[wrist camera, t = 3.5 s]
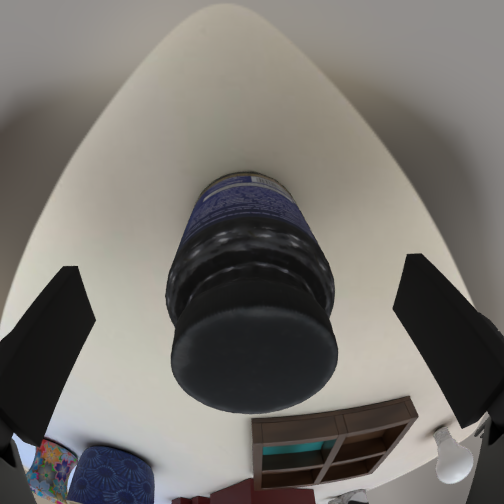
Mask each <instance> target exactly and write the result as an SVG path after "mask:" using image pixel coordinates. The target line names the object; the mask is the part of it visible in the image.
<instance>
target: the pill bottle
mask: <svg viewBox="0 0 504 504" xmlns="http://www.w3.org/2000/svg"><path fill="white" fill-rule="evenodd" d="M165 297H166V306H167V310H168V313H169V316H170V318H171V321H172V323H173V324H174V326H175V334H174V340H173V345H172V352H171V367H172V372H173V375H174V377H175V379H176V381H177V382H178V384H179V385H180V386H181V388H182V389H183V390H184V391H185V392H186V393H187V394H188V395H189V396H191V397H193V398H194V399H196V400H197V401H199V402H201V403H203V404H204V405H207V406H209V407H212V408H215V409H218V410H221V411H226V412H231V413H242V414H262V413H269V412H275V411H280V410H283V409H286V408H289V407H292V406H294V405H297V404H299V403H301V402H303V401H305V400H307V399H308V398H310V397H311V396H313V395H314V394H316V393H317V392H318V391H319V390H321V389H322V388H323V387H324V386H325V384H326V383H327V382H328V381H329V380H330V378H331V376H332V375H333V373H334V371H335V368H336V366H337V361H338V346H337V342H336V338H335V335H334V333H333V330H332V326H331V323H330V320H329V318H330V315H331V312H332V309H333V305H334V297H335V285H334V278H333V275H332V272H331V269H330V266H329V263H328V261H327V259H326V258H325V256H324V253H323V252H322V250H321V248H320V247H319V245H318V243H317V240H316V239H315V237H314V235H313V234H312V232H311V230H310V228H309V226H308V224H307V223H306V221H305V219H304V217H303V215H302V213H301V211H300V210H299V208H298V206H297V205H296V203H295V201H294V199H293V198H292V196H291V194H290V193H289V192H288V191H287V190H286V189H285V187H284V186H282V185H281V184H279V183H278V181H276V180H274V179H272V178H270V177H267V176H265V175H262V174H259V173H256V172H237V173H233V174H228V175H225V176H223V177H220V178H219V179H217V180H215V181H214V182H212V183H211V184H210V185H209V186H207V187H206V188H205V189H204V190H203V192H202V193H201V194H200V196H199V198H198V200H197V202H196V204H195V206H194V209H193V211H192V214H191V216H190V219H189V221H188V224H187V226H186V229H185V231H184V234H183V237H182V239H181V242H180V245H179V247H178V250H177V253H176V255H175V258H174V261H173V263H172V266H171V269H170V271H169V275H168V280H167V288H166V294H165Z"/></svg>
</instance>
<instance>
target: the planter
mask: <svg viewBox="0 0 504 504" xmlns="http://www.w3.org/2000/svg"><path fill="white" fill-rule="evenodd" d="M154 490H155V484H154V474H153V471H152V469H151V468H150V467H149V466H148V464H146V463H145V462H144V461H143V460H141V459H139V458H138V457H136V456H134V455H131V454H129V453H127V452H124V451H121V450H118V449H114V448H110V447H104V446H94V447H90V448H88V449H86V450H85V451H84V452H83V453H82V455H81V457H80V459H79V461H78V464H77V467H76V469H75V472H74V475H73V478H72V482H71V485H70V488H69V492H68V495H67V499H66V502H67V503H68V504H154Z"/></svg>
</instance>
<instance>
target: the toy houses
mask: <svg viewBox="0 0 504 504" xmlns="http://www.w3.org/2000/svg"><path fill="white" fill-rule="evenodd" d="M172 504H316V503H315V497H314V490H312V489H294V488H287V489H276V490H260V491H254V479H252V478H250V479H247V480H245V481H243V482H240V483H238V484H235V485H233V486H230V487H228V488H225V489H223V490H220V491H217V492H215V493H212V494H210V498H206V497H201V496H197V497H194V498H192V500H191V499H186V498H182V497H180V498H177V499H174V500H172Z"/></svg>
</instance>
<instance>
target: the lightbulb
mask: <svg viewBox="0 0 504 504" xmlns="http://www.w3.org/2000/svg"><path fill="white" fill-rule="evenodd" d="M433 436H434V438H435V441H436V443H437V446H438V460H437V465H436V475H437V477H438V478H439V480H440V481H441V482H443V483H447V484H452V483H456V482H459V481H461V480H462V479H464V478H465V477H466V476H467V475H468V474H469V472H470V471H471V469H472V466H473V461H474V459H473V455H472V453H471V451H470V450H469V449H468V448H466V447H464V446H461V445H459V444H458V443H457V442H456V440H455V439H453V438H452V436H451V435H450V433H449V431H448V427H440V428H438V429H437V430H436V432H435V433H434V435H433Z"/></svg>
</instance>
